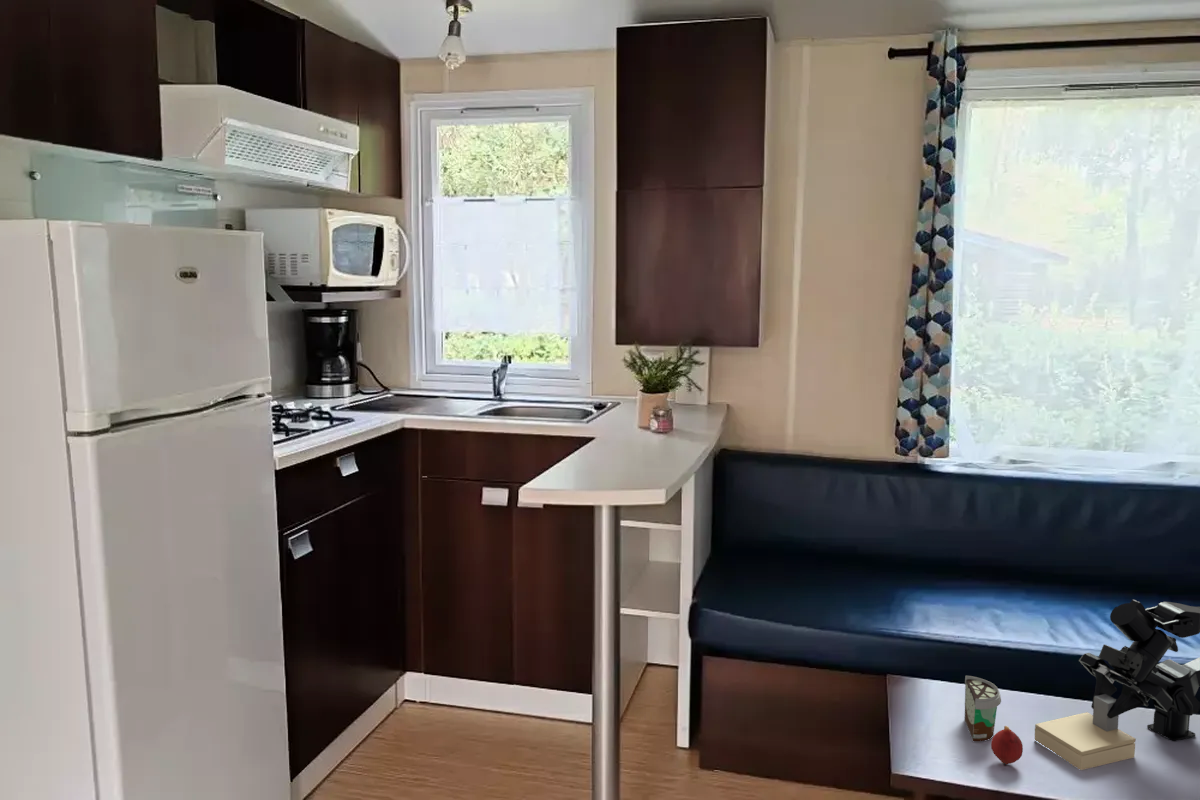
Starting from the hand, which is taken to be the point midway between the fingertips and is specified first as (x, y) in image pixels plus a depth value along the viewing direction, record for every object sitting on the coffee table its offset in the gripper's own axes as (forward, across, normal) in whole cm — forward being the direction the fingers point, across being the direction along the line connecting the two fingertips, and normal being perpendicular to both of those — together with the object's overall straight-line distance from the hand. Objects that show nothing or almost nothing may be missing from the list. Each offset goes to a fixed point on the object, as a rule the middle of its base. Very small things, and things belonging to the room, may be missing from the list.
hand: (1100, 712), depth 191 cm
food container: (+18, -13, -8) cm, 23 cm away
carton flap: (+6, 0, 0) cm, 6 cm away
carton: (+8, 0, +2) cm, 8 cm away
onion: (+22, -1, -11) cm, 24 cm away
